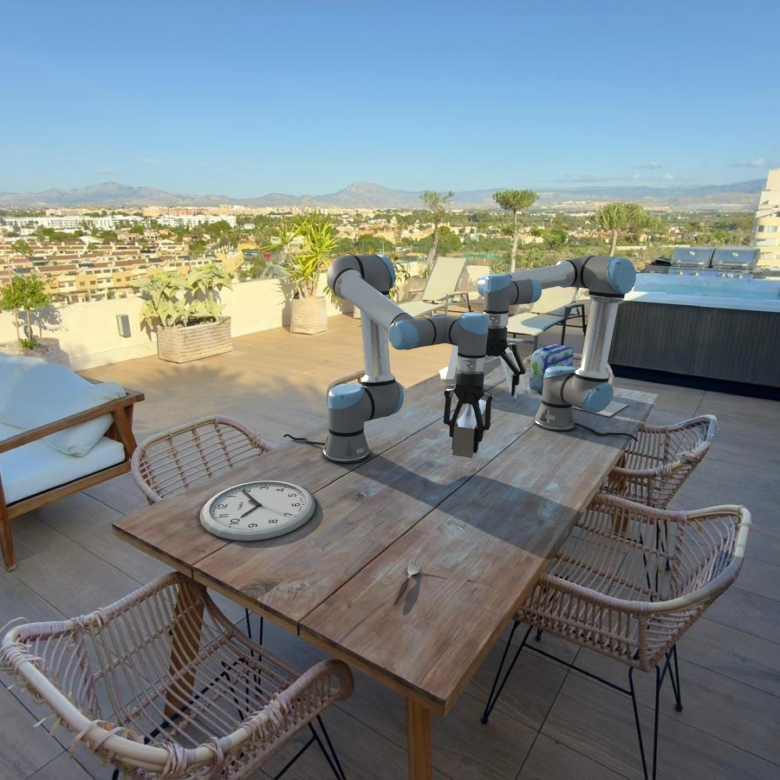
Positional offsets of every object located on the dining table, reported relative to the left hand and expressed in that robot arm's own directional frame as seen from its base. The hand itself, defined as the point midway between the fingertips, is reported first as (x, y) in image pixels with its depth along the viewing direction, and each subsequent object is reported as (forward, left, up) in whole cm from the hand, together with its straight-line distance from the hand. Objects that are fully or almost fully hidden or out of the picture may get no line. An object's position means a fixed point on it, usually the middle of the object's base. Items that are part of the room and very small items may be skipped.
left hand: (465, 449), depth 148 cm
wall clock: (-42, -39, -13) cm, 59 cm away
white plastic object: (-31, +92, -13) cm, 98 cm away
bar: (-2, +9, -1) cm, 9 cm away
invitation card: (+21, +102, -13) cm, 105 cm away
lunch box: (-5, +116, -13) cm, 117 cm away
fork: (+7, -45, -13) cm, 48 cm away
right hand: (-2, +24, +10) cm, 26 cm away
